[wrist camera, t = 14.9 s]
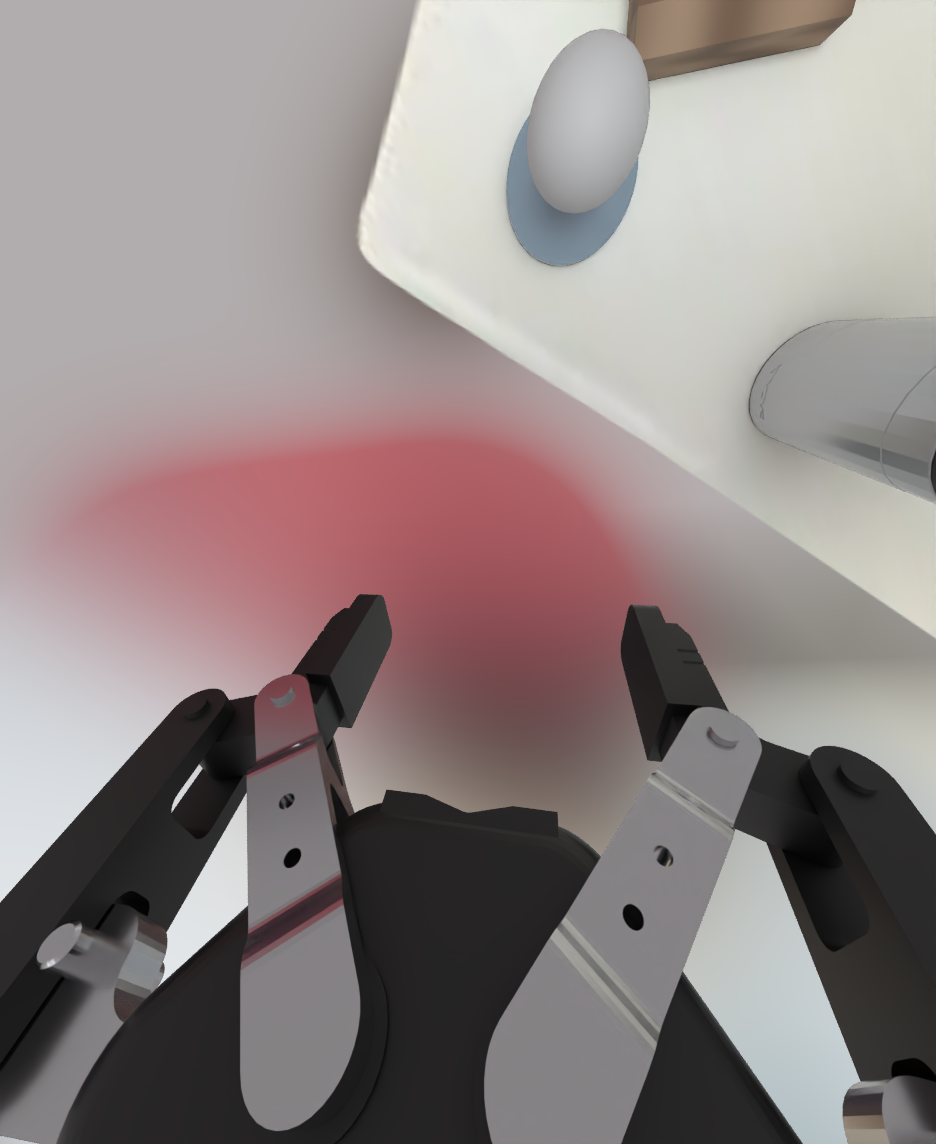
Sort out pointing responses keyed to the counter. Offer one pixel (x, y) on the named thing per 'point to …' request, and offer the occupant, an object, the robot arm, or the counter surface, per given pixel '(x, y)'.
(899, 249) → the counter surface
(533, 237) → the pad
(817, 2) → the frame
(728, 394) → the counter surface
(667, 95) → the counter surface
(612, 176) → the lightbulb
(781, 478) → the counter surface
